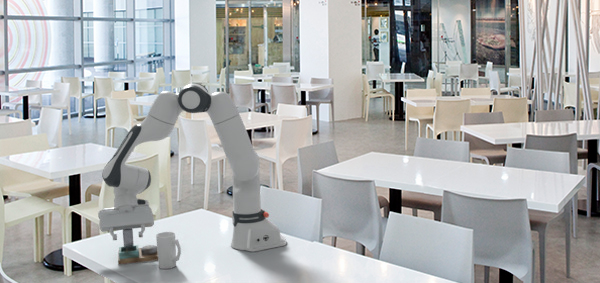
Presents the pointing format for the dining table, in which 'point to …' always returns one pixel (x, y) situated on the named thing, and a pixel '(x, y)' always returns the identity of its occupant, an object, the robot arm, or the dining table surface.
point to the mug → (167, 250)
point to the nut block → (137, 254)
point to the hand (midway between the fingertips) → (127, 238)
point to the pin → (128, 239)
